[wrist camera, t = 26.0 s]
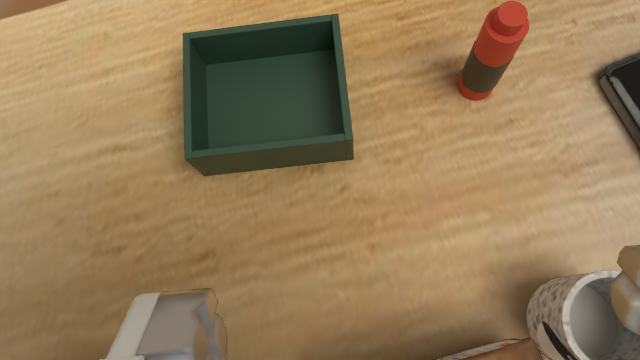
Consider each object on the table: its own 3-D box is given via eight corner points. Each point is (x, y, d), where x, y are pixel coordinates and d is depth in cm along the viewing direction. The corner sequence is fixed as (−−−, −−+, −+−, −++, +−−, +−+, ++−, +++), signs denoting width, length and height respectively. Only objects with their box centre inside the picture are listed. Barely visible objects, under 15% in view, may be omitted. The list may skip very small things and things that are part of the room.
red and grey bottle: (460, 102, 42) (493, 36, 31) (454, 71, 42) (484, -4, 32) (496, 98, 41) (541, 30, 31) (489, 67, 42) (530, -10, 32)
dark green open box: (204, 176, 42) (184, 158, 37) (201, 63, 45) (182, 33, 40) (353, 159, 41) (353, 139, 36) (340, 45, 44) (338, 13, 39)
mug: (511, 335, 36) (544, 340, 30) (549, 261, 37) (589, 250, 31) (639, 413, 34) (704, 437, 28) (675, 332, 35) (745, 336, 29)
